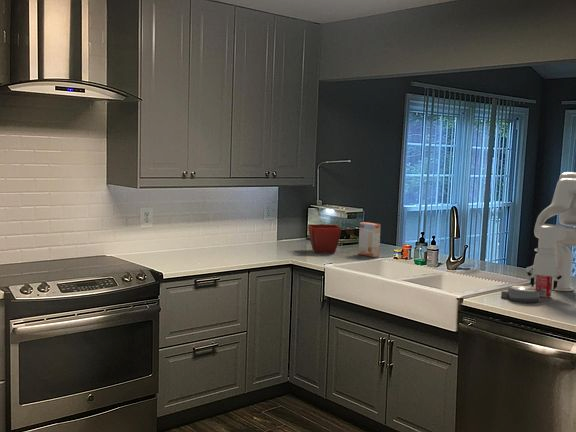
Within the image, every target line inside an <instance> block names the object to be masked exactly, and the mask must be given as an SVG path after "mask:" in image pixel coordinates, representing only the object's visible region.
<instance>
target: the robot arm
mask: <svg viewBox="0 0 576 432" xmlns="http://www.w3.org/2000/svg"><path fill="white" fill-rule="evenodd" d="M557 215H559V216H558V222H559V224H552V223H551V224H550V223H546V221H547V220H548V219H550V218H552V217H554V216H557ZM534 224H535V225H534V229H533V233H534V237H535V238H537V239H538V245H537V246H538V247H536V248H534V251H535V252H536V253H535V256H534V261H533V264H532V265H531V266H527V267H526V268H525V271H526V274H527V276H529V278H530V282H529V284H530V285H531V287H533V288H534V285H535V277H536V276H537V275H545V276H548V277H552V290H551V291H558V292H572V291H574V287H573V286H571V278H572V266H573V264H572V263H573V253H572V251H571V249H570V247H572V248H576V172H574V171H566V172H563V173H561V174H560V175H559V178H558V180H557V183H556V187H555V189H554V193H553V197H552V200H551V203H550V205H548V206H547V207H545V208H544V209H543V210H542V211H541V212H540V213H539V214H538V216H537V218H536V222H535V223H534ZM530 270H532V272H531V271H530Z"/></svg>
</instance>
